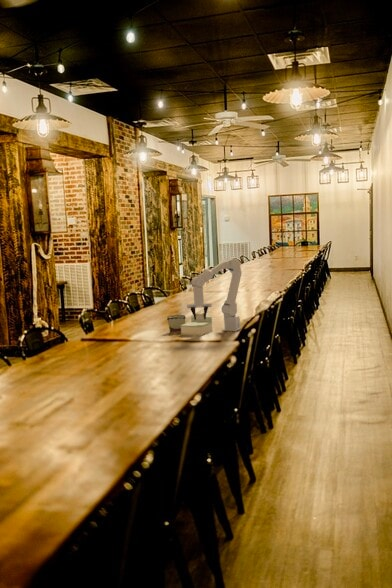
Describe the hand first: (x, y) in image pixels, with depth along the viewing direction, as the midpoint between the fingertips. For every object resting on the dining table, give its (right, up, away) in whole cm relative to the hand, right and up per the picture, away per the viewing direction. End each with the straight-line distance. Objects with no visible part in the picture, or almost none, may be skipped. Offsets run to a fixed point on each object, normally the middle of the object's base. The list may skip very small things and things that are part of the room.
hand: (200, 319), depth 333 cm
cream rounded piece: (0, -2, 0) cm, 2 cm away
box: (-2, -9, +8) cm, 12 cm away
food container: (-14, -9, +17) cm, 23 cm away
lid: (-2, -4, +7) cm, 8 cm away
